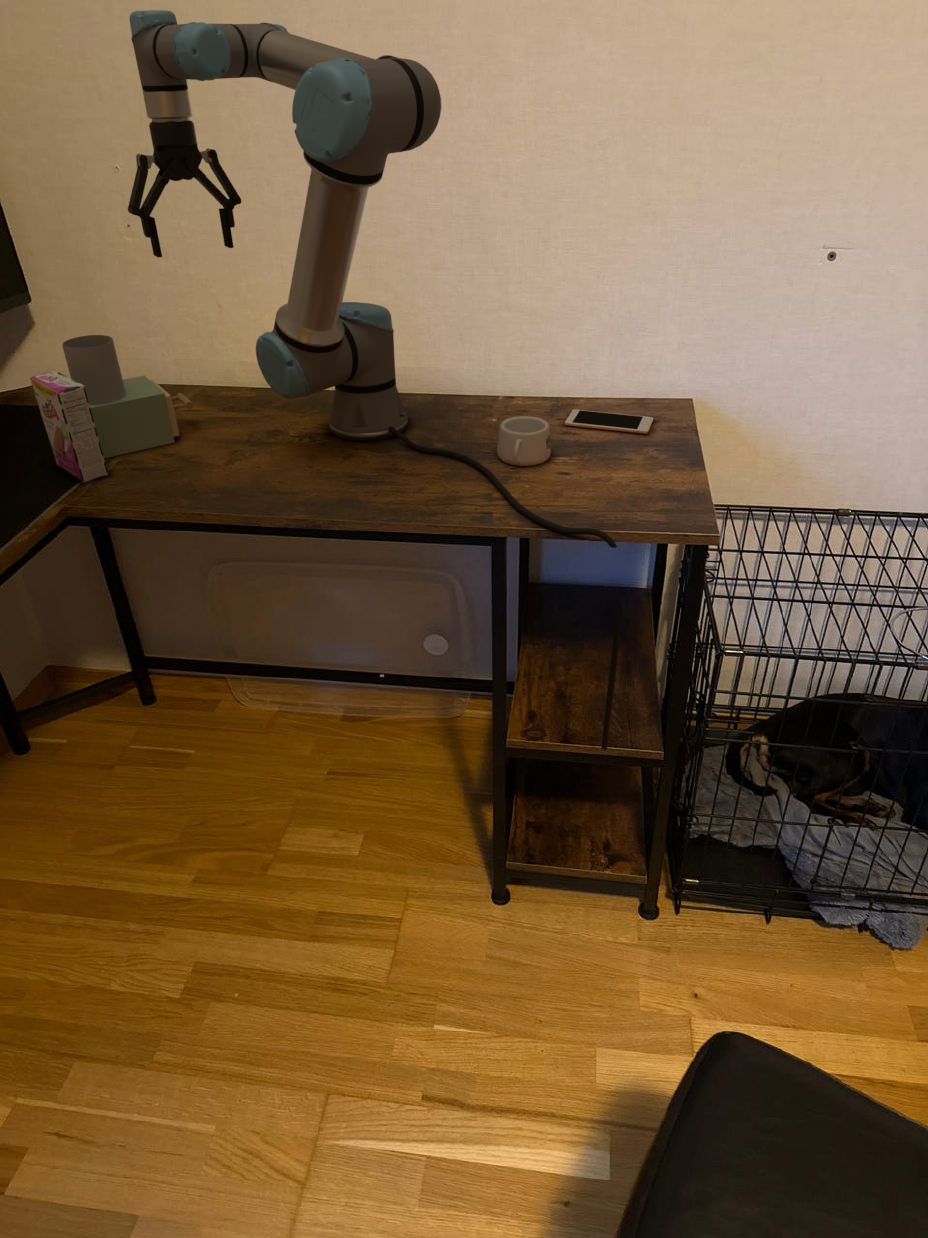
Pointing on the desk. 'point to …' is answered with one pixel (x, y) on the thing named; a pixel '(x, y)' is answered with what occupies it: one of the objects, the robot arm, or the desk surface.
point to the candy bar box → (69, 425)
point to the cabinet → (133, 419)
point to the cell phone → (609, 421)
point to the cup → (95, 367)
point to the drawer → (169, 399)
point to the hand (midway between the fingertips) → (194, 251)
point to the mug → (524, 441)
